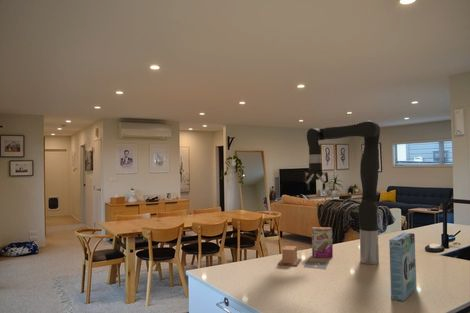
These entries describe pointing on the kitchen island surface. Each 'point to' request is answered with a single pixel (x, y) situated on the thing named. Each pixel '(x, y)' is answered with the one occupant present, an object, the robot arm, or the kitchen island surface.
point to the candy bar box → (322, 242)
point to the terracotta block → (289, 254)
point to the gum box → (402, 266)
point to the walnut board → (290, 263)
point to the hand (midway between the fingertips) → (315, 190)
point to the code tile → (316, 264)
